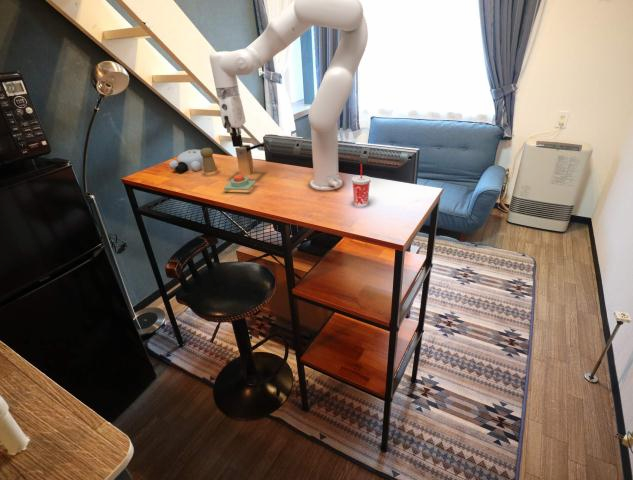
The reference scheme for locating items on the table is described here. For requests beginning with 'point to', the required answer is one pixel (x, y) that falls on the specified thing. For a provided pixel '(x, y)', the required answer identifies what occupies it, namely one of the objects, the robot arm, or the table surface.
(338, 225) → the table surface
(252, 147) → the lever
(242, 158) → the bracket
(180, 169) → the figurine
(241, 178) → the button
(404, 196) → the table surface
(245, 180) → the button block
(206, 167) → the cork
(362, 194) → the beverage cup
